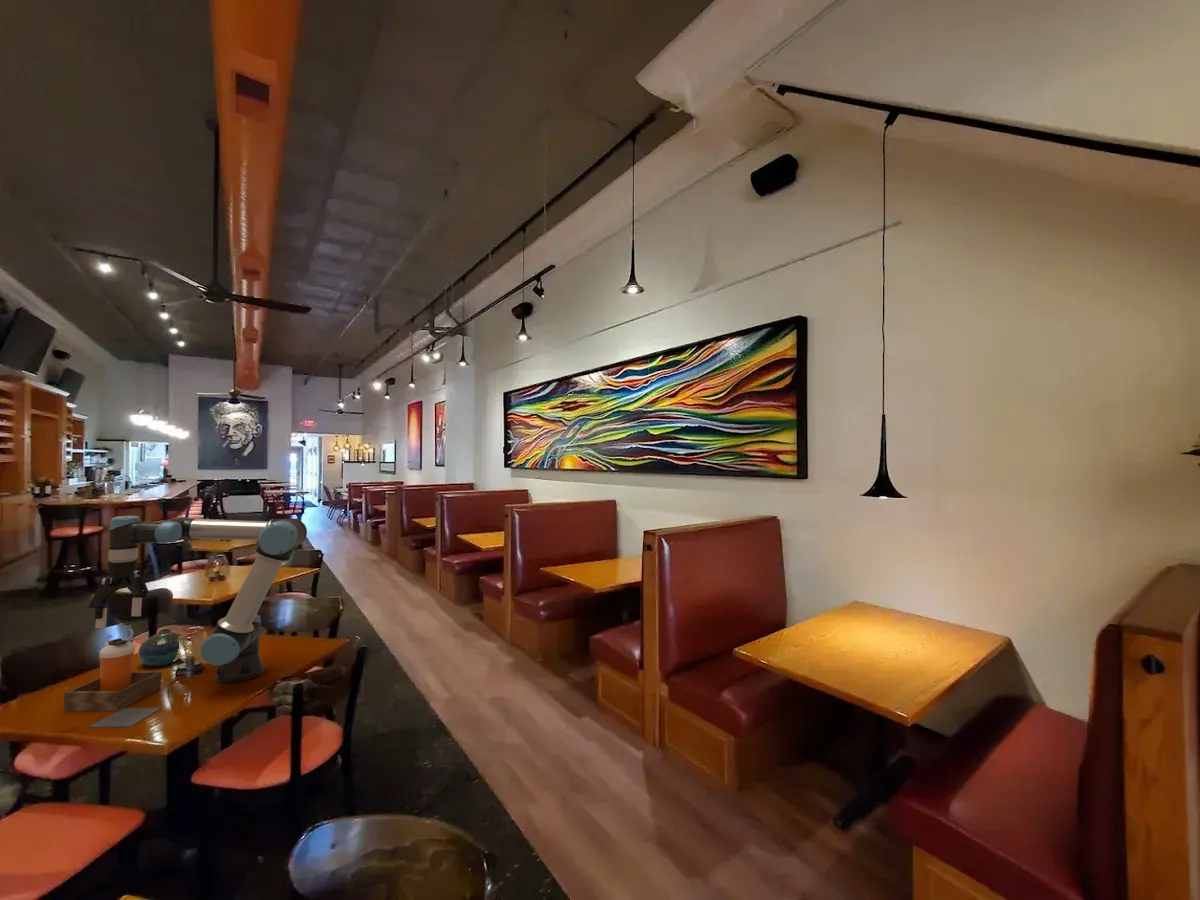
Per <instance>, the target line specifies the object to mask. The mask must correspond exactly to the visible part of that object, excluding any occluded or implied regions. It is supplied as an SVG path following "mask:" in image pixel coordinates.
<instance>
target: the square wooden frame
mask: <svg viewBox="0 0 1200 900" xmlns="http://www.w3.org/2000/svg"><path fill="white" fill-rule="evenodd" d="M161 684H162V671H131V680H130V686H128V687H126V688H124V689H122V690H120V691H100V677H97V678H95V679H92V680H90V681H88V682H85V683H84V684H81V685H79V686H76V687H74V688H72V689H71V690H67V691H65V692H64V698H63V700H64V701H63V712H117V711H119V710H121V709H123V708H128V706H130V705H132V704H134V703H136V702H138V701H140V700H142V699H143V698H145V697H147V696H149V695H151V694H153V693H154V692H157V691H158V690H160V689H161V687H162V686H161Z"/></svg>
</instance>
